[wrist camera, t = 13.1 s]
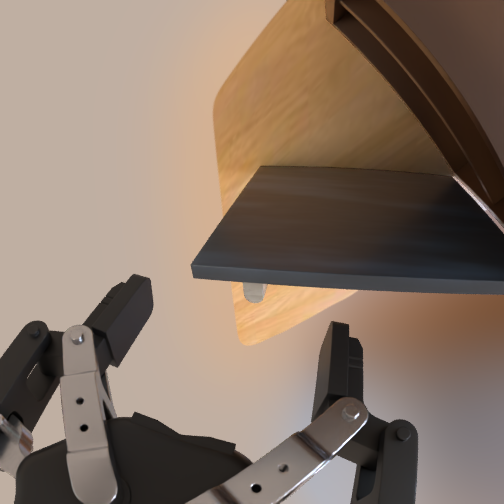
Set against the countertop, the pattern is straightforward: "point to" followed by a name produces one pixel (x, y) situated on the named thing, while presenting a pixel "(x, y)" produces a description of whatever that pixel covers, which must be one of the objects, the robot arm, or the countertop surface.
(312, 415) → the robot arm
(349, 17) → the cupboard
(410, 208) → the door
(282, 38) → the countertop surface
